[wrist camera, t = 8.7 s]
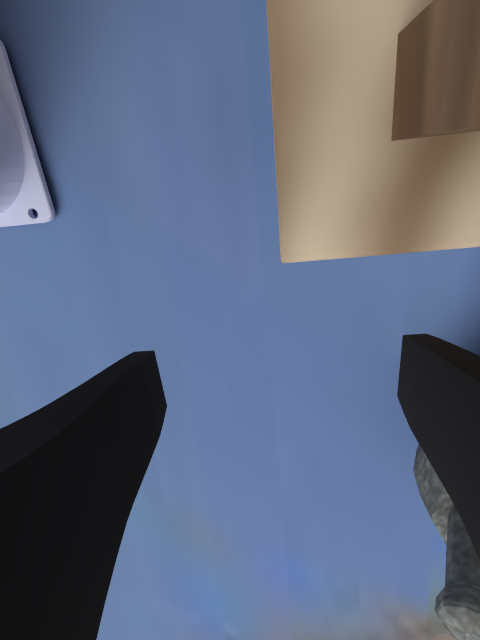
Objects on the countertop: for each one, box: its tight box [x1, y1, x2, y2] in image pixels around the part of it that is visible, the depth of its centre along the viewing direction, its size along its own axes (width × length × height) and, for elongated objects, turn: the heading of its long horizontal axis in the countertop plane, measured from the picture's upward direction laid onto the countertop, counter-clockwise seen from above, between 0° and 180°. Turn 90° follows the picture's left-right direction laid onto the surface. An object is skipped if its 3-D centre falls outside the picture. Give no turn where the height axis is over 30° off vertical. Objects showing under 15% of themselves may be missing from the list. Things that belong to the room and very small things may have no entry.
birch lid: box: [266, 0, 480, 263], centre depth 9 cm, size 11×11×6 cm
